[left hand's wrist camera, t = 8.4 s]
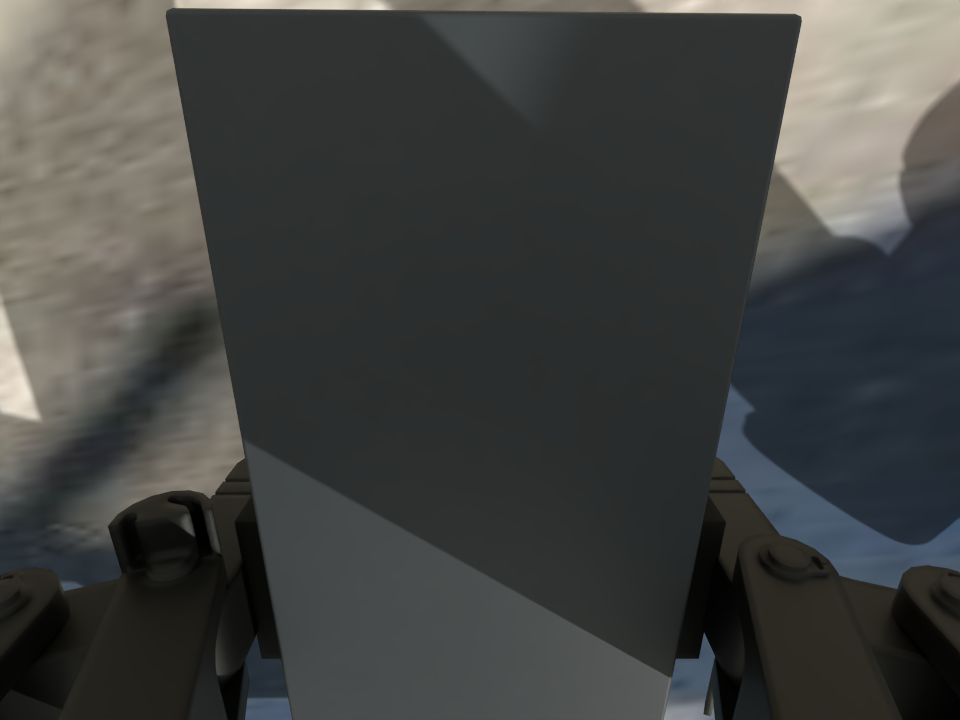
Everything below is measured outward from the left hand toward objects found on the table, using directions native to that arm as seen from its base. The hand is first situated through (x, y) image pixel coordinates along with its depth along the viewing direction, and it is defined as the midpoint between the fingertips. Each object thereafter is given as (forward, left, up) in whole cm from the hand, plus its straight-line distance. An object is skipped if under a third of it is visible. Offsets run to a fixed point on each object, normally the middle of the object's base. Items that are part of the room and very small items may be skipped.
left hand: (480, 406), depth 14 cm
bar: (+2, +23, -1) cm, 23 cm away
